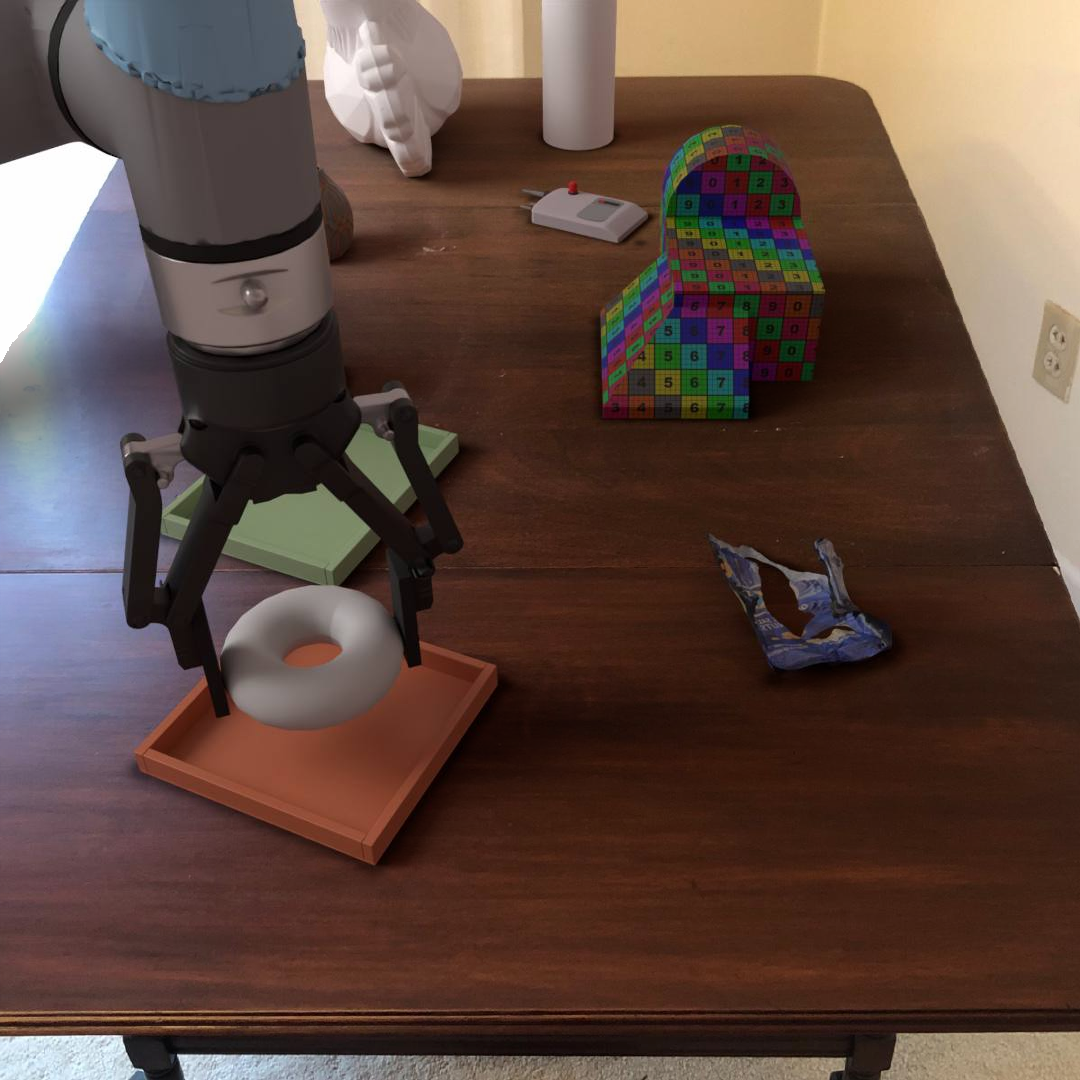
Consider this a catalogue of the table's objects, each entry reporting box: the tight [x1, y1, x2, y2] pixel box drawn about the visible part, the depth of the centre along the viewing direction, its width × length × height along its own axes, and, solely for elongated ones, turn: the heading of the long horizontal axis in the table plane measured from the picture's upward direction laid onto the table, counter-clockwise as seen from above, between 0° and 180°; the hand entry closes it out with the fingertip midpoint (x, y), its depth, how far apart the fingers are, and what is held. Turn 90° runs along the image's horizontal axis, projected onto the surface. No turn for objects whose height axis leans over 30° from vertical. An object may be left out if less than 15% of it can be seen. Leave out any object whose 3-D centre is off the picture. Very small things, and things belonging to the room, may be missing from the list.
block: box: [599, 124, 826, 420], centre depth 100 cm, size 25×17×14 cm
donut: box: [219, 584, 404, 731], centre depth 67 cm, size 10×4×10 cm
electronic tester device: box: [520, 180, 649, 244], centre depth 123 cm, size 7×16×3 cm, turn 60°
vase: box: [317, 163, 355, 262], centre depth 116 cm, size 7×7×9 cm
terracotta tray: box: [133, 640, 498, 866], centre depth 70 cm, size 15×14×2 cm
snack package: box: [705, 530, 893, 677], centre depth 76 cm, size 12×6×12 cm
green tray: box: [160, 423, 460, 587], centre depth 88 cm, size 14×17×2 cm
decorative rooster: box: [317, 0, 464, 178], centre depth 131 cm, size 25×16×25 cm
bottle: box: [541, 0, 618, 151], centre depth 131 cm, size 8×8×30 cm
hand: (316, 674), depth 68 cm, fingers closed on donut, 10 cm apart
